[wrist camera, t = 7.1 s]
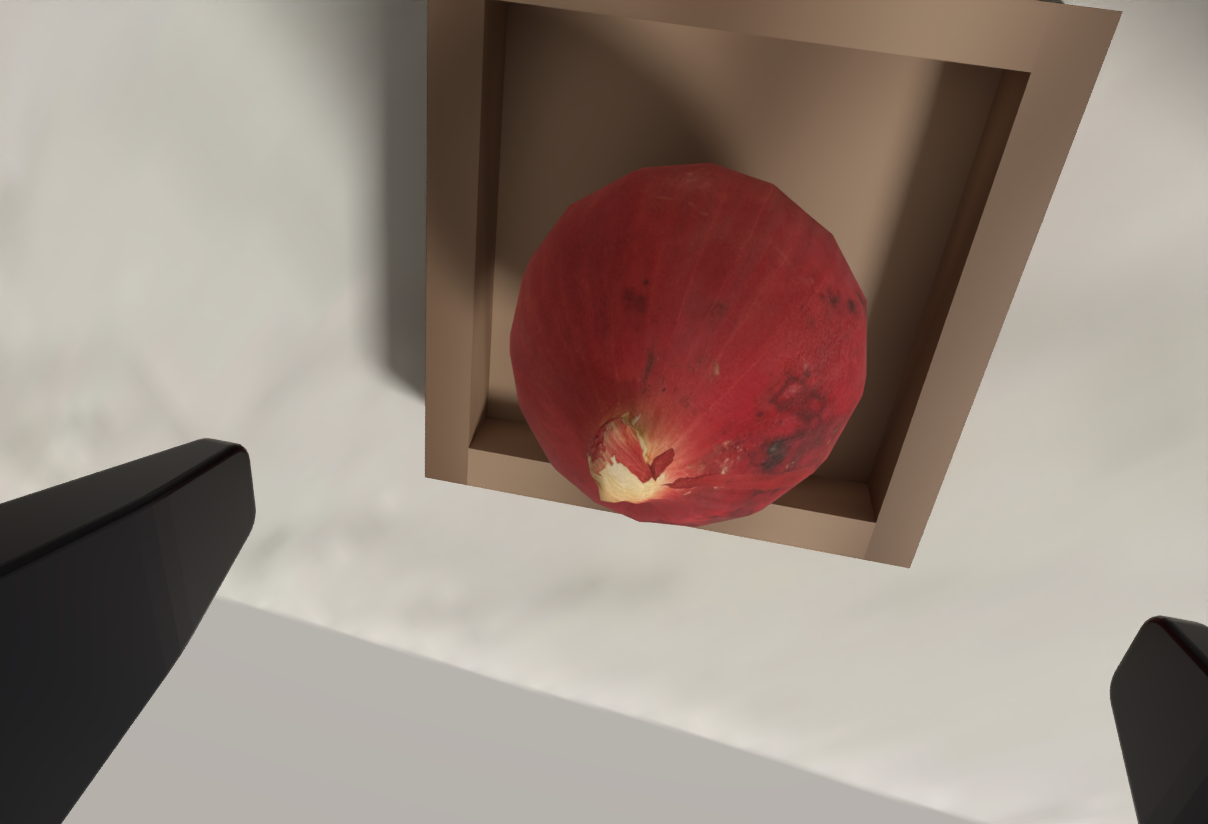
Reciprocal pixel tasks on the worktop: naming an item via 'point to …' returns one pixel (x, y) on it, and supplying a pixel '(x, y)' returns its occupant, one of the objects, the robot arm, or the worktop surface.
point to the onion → (688, 344)
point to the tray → (773, 154)
